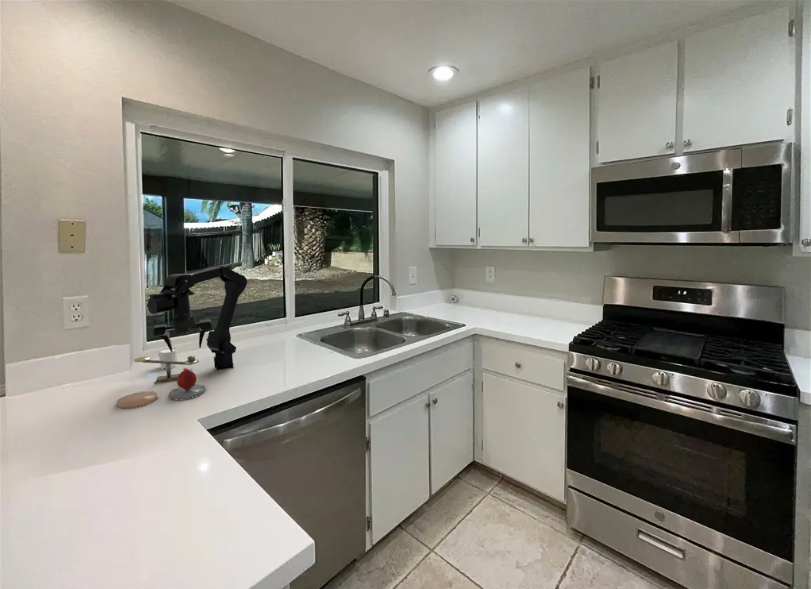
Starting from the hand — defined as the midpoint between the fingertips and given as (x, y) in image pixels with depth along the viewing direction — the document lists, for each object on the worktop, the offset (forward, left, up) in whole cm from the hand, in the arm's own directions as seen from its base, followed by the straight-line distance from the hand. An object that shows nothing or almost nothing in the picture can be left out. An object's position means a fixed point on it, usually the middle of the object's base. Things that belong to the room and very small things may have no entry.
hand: (186, 349), depth 146 cm
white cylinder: (+9, -21, -12) cm, 26 cm away
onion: (-1, +15, -11) cm, 18 cm away
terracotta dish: (+14, +15, -12) cm, 23 cm away
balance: (+7, -3, -12) cm, 14 cm away
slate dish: (-1, +15, -12) cm, 19 cm away
